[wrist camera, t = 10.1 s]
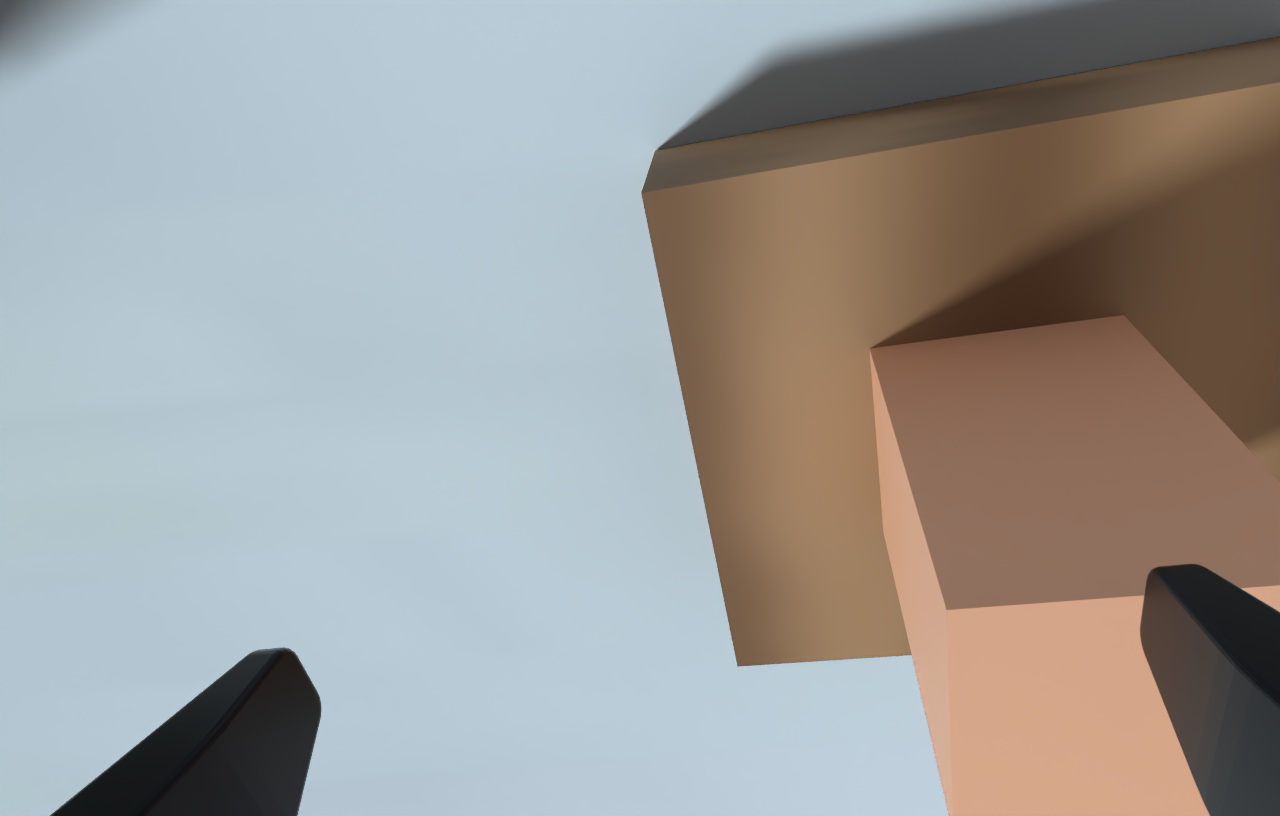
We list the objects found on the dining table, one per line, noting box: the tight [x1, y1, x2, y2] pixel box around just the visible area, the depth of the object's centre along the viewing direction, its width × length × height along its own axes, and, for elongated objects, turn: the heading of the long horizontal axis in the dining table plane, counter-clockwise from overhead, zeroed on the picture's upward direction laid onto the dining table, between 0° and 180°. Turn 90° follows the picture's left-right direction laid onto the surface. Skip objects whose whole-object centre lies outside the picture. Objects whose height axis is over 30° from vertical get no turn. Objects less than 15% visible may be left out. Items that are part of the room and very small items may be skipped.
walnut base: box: [642, 37, 1280, 666], centre depth 18 cm, size 12×12×3 cm
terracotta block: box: [870, 315, 1280, 816], centre depth 14 cm, size 4×4×7 cm
